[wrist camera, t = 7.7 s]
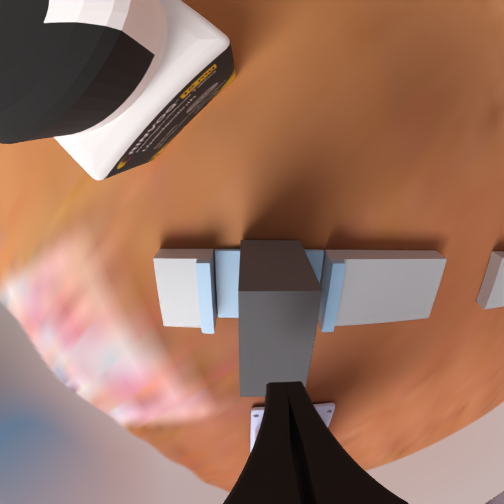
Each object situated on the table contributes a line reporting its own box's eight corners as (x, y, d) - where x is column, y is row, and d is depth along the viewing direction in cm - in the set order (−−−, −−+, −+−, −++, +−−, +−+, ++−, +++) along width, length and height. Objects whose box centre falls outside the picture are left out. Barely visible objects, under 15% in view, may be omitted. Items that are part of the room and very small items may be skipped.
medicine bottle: (152, 163, 16) (11, 229, 5) (80, 93, 14) (-75, 90, 3) (239, 76, 14) (223, -31, 3) (157, 9, 12) (59, -96, 1)
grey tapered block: (291, 331, 21) (303, 394, 15) (241, 332, 21) (240, 396, 15) (300, 240, 18) (322, 290, 12) (240, 240, 18) (238, 291, 12)
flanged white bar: (496, 298, 21) (508, 309, 19) (168, 313, 20) (162, 331, 18) (512, 251, 19) (525, 260, 17) (159, 248, 18) (150, 262, 16)
